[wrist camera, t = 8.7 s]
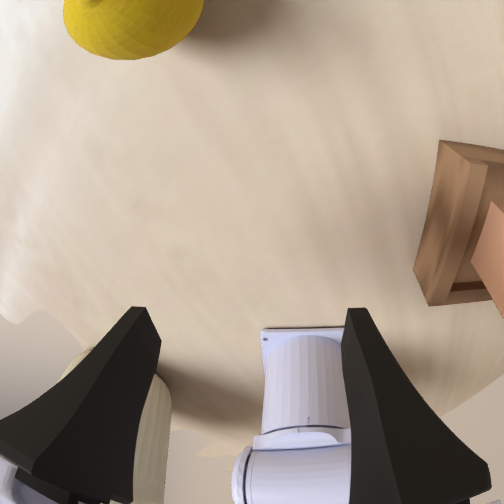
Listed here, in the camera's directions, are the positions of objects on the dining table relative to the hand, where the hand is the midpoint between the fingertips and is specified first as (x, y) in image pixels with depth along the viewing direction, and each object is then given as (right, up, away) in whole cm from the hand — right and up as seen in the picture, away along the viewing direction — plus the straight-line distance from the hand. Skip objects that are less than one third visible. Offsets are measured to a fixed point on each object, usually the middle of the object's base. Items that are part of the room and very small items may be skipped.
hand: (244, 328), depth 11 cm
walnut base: (+17, +5, +7) cm, 19 cm away
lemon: (-4, +16, +1) cm, 16 cm away
